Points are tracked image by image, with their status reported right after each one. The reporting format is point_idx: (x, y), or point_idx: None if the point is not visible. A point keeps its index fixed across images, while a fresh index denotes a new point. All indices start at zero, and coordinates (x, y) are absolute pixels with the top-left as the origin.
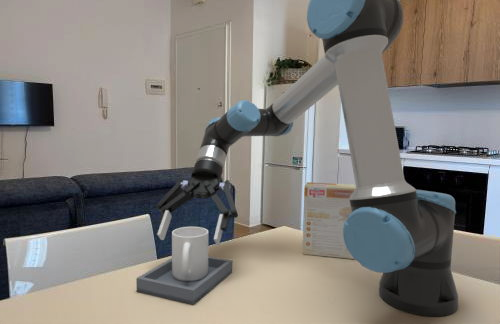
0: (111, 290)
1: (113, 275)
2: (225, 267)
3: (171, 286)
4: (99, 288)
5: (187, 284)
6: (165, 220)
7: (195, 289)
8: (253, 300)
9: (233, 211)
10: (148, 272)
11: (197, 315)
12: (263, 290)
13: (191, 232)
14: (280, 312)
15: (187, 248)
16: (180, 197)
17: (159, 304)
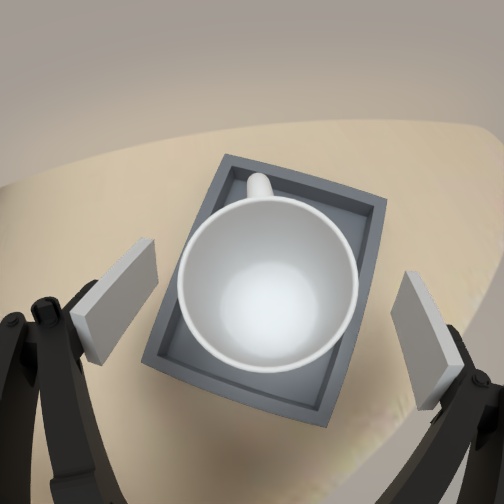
0: (428, 216)
1: (465, 293)
2: (159, 314)
3: (283, 169)
4: (454, 223)
5: None
6: (426, 324)
7: (221, 161)
8: (110, 210)
9: (17, 315)
10: (375, 236)
11: (214, 141)
12: (87, 257)
13: (281, 363)
14: (77, 178)
15: (252, 180)
16: (422, 474)
17: (302, 167)
